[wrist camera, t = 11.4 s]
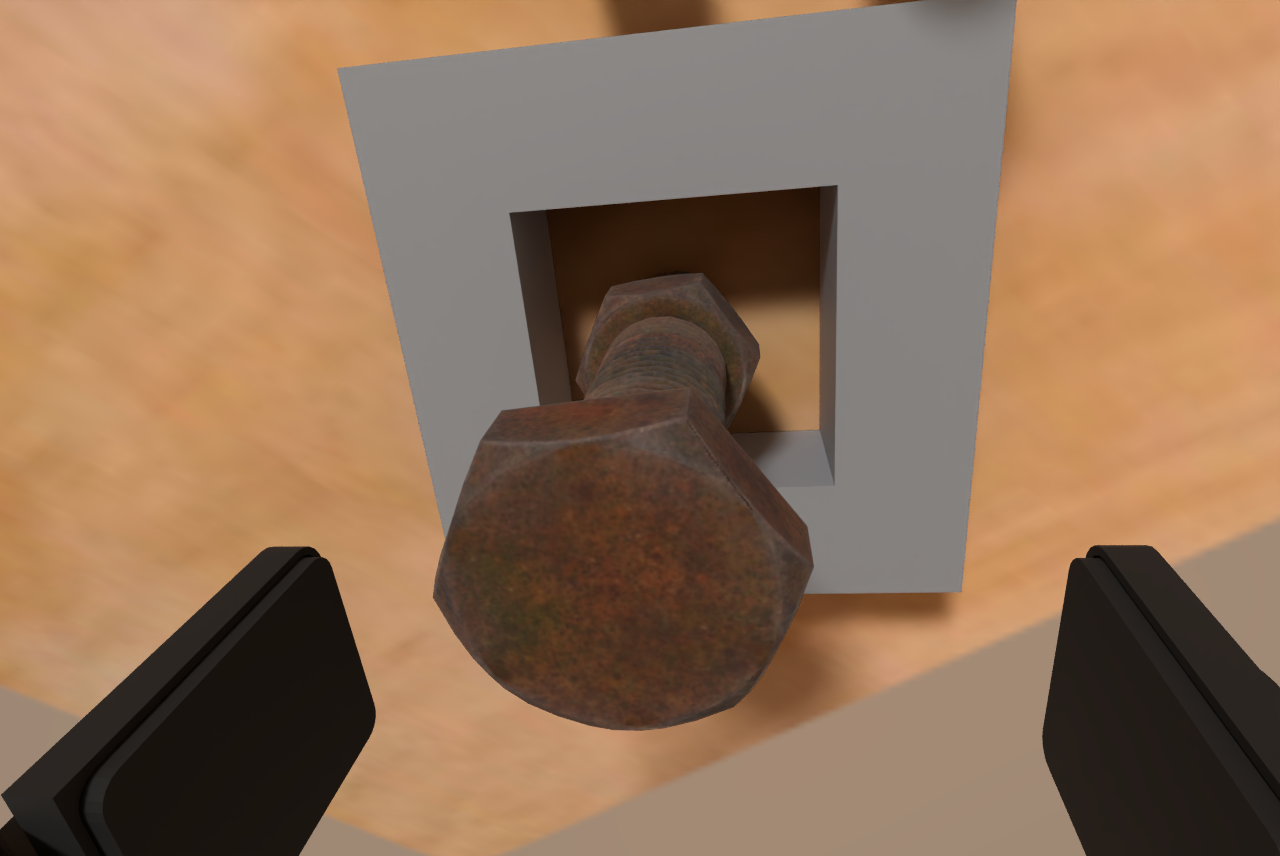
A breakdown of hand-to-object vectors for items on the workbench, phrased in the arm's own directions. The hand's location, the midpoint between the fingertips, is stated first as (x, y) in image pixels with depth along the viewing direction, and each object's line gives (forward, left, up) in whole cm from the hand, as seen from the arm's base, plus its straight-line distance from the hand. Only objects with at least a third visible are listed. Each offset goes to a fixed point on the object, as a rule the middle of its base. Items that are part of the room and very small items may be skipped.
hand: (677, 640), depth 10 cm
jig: (+1, 0, -16) cm, 16 cm away
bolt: (+1, 0, -16) cm, 16 cm away
